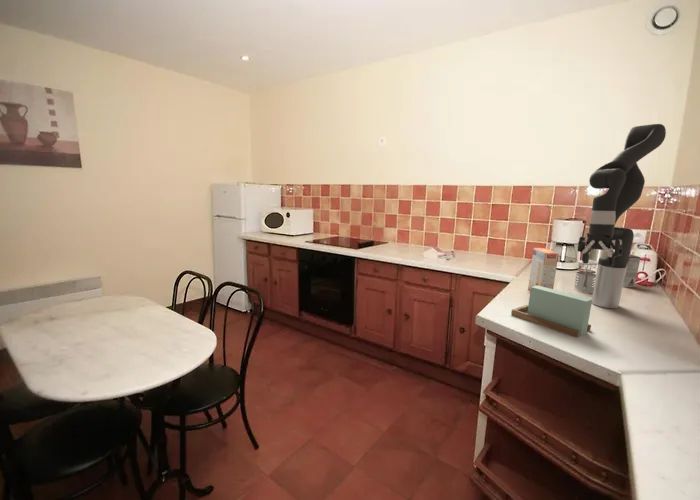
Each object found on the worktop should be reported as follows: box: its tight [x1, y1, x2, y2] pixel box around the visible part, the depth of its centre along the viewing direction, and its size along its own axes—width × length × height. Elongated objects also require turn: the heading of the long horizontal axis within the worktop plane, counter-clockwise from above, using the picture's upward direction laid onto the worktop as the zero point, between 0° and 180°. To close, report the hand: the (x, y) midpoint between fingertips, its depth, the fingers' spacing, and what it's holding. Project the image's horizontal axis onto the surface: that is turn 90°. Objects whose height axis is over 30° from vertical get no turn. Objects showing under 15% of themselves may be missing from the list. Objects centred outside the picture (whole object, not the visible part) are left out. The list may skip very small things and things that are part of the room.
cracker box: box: [527, 247, 559, 291], centre depth 148 cm, size 14×6×21 cm, turn 168°
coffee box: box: [622, 254, 642, 288], centre depth 167 cm, size 9×6×16 cm
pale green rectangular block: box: [526, 285, 593, 336], centre depth 115 cm, size 4×18×12 cm, turn 33°
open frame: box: [511, 304, 592, 338], centre depth 118 cm, size 10×22×2 cm, turn 33°
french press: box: [571, 251, 598, 294], centre depth 155 cm, size 10×12×25 cm
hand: (597, 265), depth 124 cm, fingers open, 8 cm apart
